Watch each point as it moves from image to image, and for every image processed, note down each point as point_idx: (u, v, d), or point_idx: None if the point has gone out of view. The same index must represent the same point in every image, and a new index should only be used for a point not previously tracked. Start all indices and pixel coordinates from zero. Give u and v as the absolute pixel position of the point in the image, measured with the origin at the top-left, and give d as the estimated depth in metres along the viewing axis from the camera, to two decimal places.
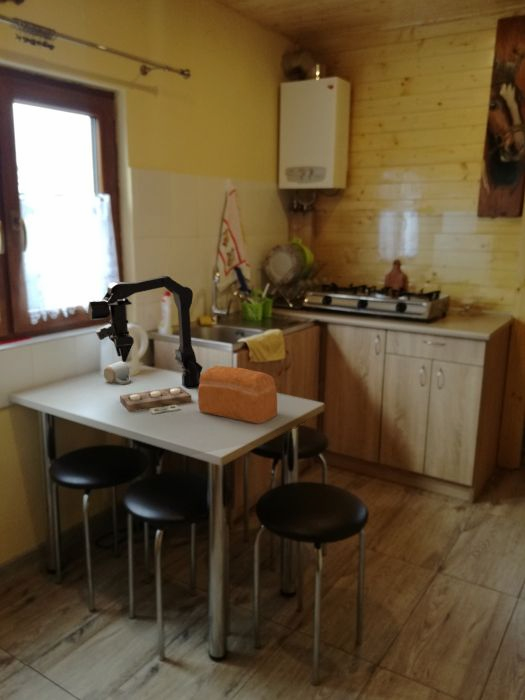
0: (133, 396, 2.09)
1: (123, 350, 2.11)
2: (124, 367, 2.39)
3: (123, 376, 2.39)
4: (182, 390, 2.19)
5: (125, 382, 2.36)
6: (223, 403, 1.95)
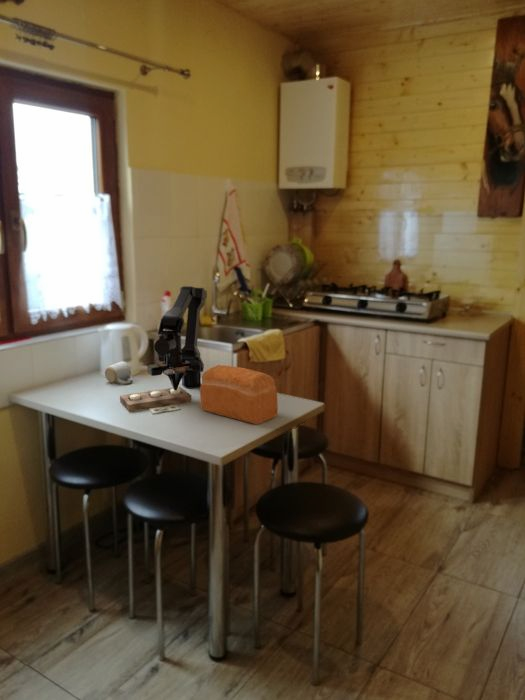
0: (133, 396, 2.09)
1: (170, 378, 2.15)
2: (125, 367, 2.38)
3: (124, 376, 2.38)
4: (182, 390, 2.19)
5: (126, 382, 2.35)
6: (222, 402, 1.96)
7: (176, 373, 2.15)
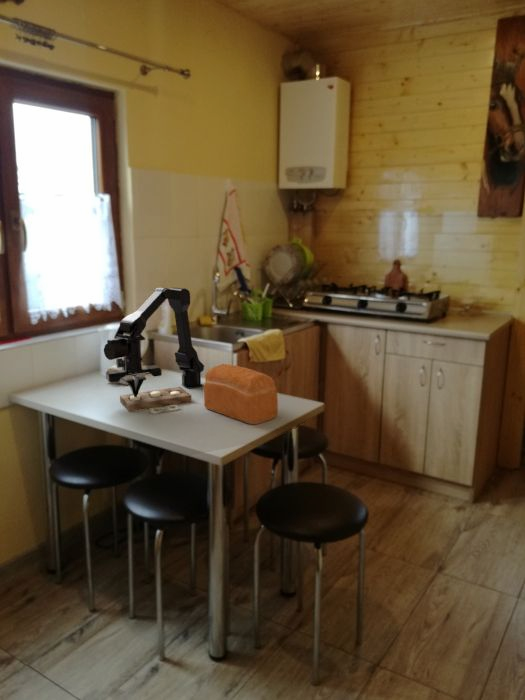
0: (133, 397, 2.09)
1: None
2: None
3: None
4: (182, 390, 2.19)
5: None
6: (222, 401, 1.97)
7: (136, 379, 2.09)
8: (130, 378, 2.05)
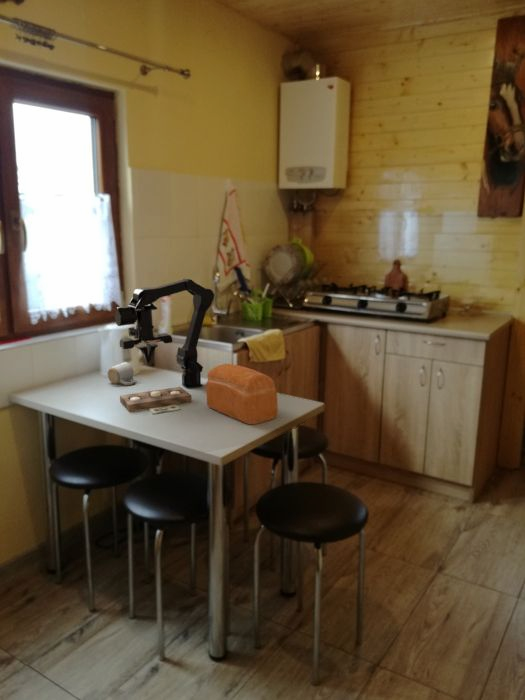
0: (133, 399, 2.09)
1: (143, 352, 2.19)
2: (128, 368, 2.37)
3: (127, 377, 2.37)
4: (182, 390, 2.19)
5: (129, 383, 2.34)
6: (222, 400, 1.98)
7: (148, 346, 2.20)
8: (143, 345, 2.17)
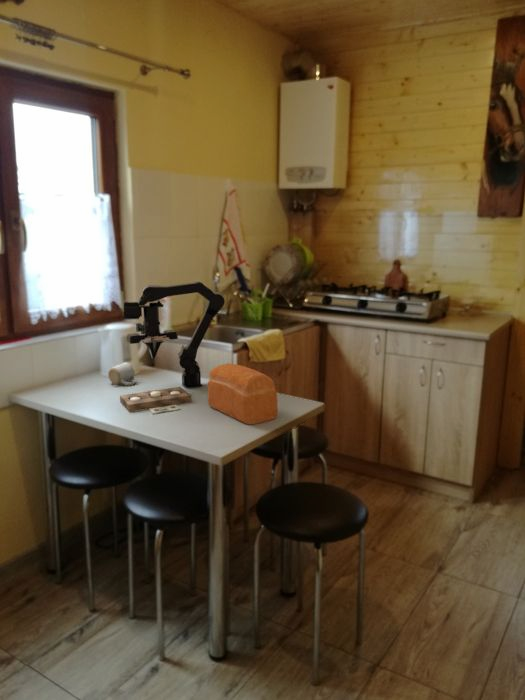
0: (133, 399, 2.09)
1: (149, 347, 2.26)
2: (129, 368, 2.37)
3: (128, 377, 2.37)
4: (182, 390, 2.19)
5: (130, 383, 2.34)
6: (223, 400, 1.99)
7: (154, 342, 2.27)
8: (149, 340, 2.24)
